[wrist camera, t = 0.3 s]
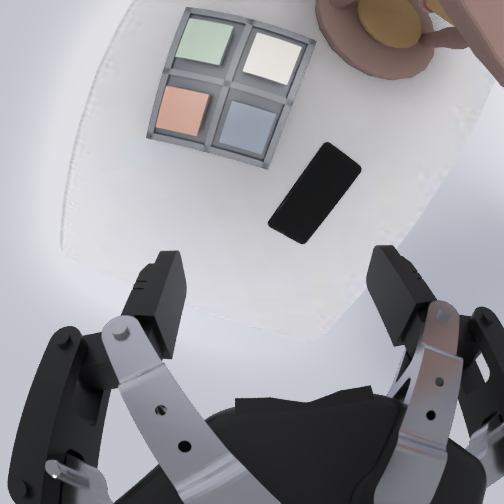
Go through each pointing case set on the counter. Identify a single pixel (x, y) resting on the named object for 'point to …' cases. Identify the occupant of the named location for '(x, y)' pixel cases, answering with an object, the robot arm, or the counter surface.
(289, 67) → the cream key
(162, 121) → the terracotta key
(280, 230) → the smartphone
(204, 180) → the counter surface
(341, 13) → the hourglass
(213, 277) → the counter surface
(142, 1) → the counter surface
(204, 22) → the sage key
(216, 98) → the keypad
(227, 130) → the slate key
